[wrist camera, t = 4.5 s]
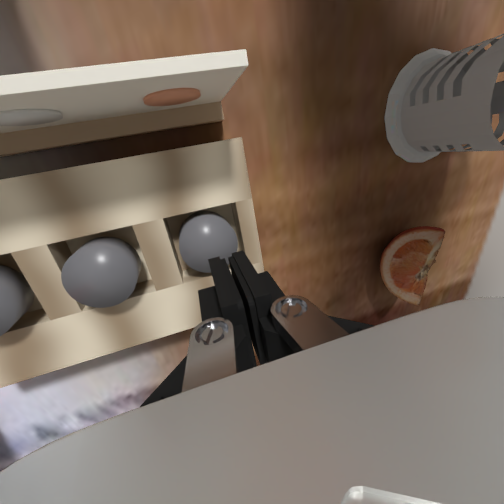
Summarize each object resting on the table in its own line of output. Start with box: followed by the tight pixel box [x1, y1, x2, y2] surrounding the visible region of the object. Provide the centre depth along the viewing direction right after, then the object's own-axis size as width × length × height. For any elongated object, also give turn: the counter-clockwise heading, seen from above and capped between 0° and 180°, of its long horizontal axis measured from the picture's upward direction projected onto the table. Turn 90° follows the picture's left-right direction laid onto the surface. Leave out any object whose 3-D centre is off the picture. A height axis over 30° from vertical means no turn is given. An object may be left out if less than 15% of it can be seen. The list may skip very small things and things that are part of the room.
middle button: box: [61, 236, 141, 308], centre depth 18 cm, size 4×4×2 cm
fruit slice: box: [380, 226, 445, 306], centre depth 27 cm, size 8×7×5 cm
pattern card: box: [0, 49, 248, 157], centre depth 13 cm, size 22×3×9 cm, turn 100°
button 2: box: [179, 211, 238, 273], centre depth 20 cm, size 4×4×2 cm
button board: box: [0, 137, 264, 388], centre depth 20 cm, size 23×14×4 cm, turn 100°
